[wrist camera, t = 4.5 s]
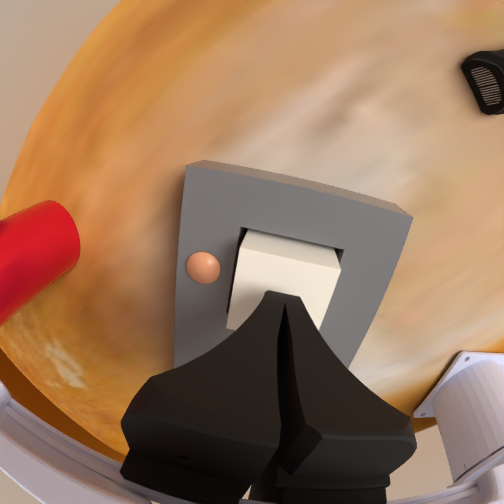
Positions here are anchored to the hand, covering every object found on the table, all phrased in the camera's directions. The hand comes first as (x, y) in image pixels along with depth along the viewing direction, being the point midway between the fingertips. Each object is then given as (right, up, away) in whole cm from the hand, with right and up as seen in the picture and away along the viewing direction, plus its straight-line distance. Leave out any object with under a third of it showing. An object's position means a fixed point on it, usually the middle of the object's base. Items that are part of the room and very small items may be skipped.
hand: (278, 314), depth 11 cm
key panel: (-1, -4, +7) cm, 9 cm away
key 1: (+1, +2, +4) cm, 5 cm away
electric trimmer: (+17, +15, -3) cm, 23 cm away
